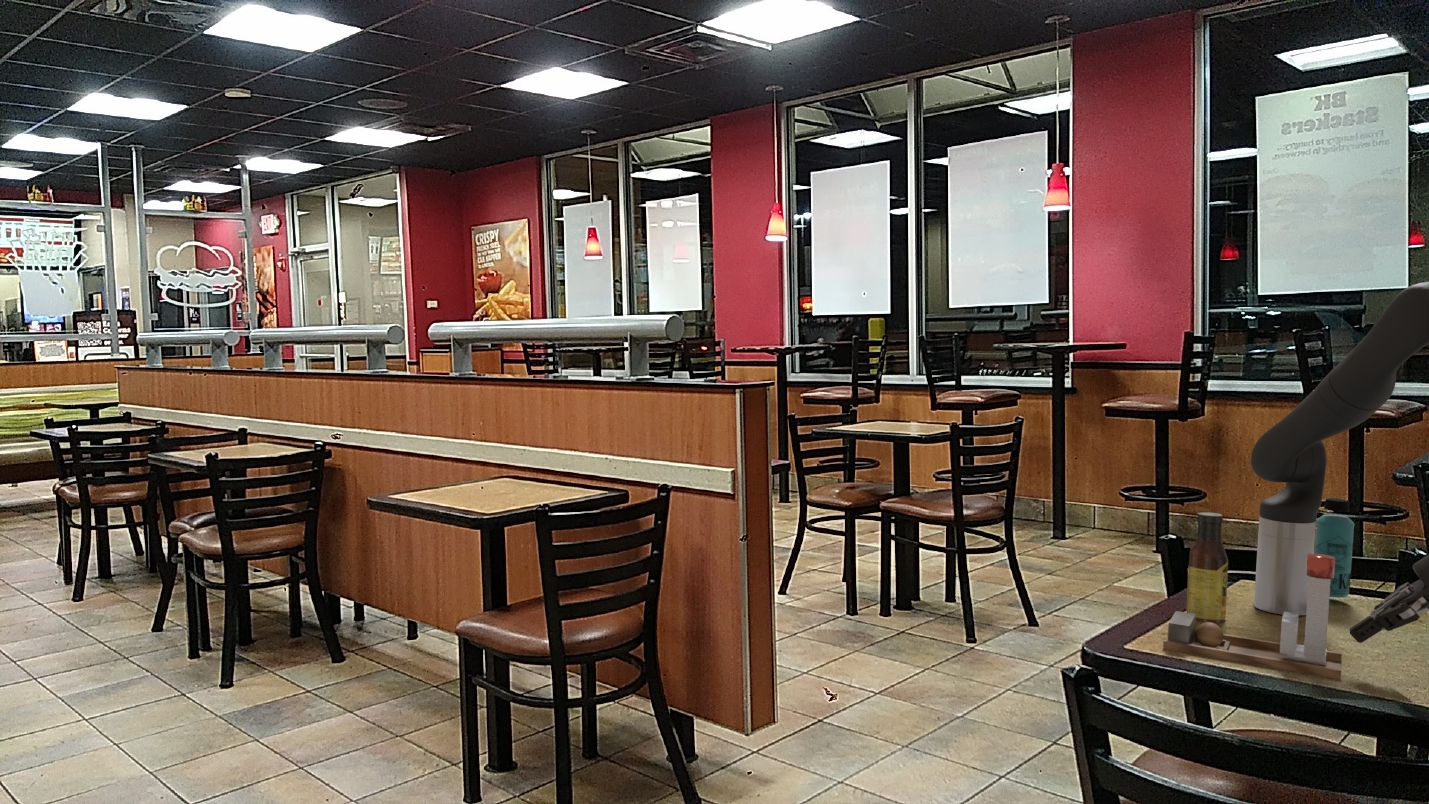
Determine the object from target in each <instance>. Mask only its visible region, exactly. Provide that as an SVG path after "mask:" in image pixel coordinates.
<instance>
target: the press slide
mask: <svg viewBox="0 0 1429 804" xmlns="http://www.w3.org/2000/svg"><path fill="white" fill-rule="evenodd" d="M1334 568H1335V557H1333V556H1329V555H1324V554H1308V555H1307V567H1306V575H1307V576H1309V581H1308V596H1307V611H1306V615H1305V626H1304V642H1303V643H1304V644H1298V630H1299V614H1297V613H1290V612H1284V613H1283V615H1282V619H1281V625H1280V626H1281V627H1280V641H1279V643H1280V653H1281V654H1287V661H1293V662H1299V663H1305V664H1311V665H1317V666H1323V667H1325V666H1326V652H1327V651H1328V650H1327V638H1328V624H1329V623H1328V622H1329V621H1328V620H1329V609H1330V608H1329V606H1330V597H1329V595H1330V581H1331V579H1333V578H1334Z"/></svg>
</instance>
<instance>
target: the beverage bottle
mask: <svg viewBox="0 0 1429 804" xmlns="http://www.w3.org/2000/svg"><path fill="white" fill-rule="evenodd" d="M1323 509H1325V510H1326V511H1327V510H1328V511H1331V512H1332V511H1333V512H1341V513H1342V512H1350V501H1349V500H1348V499H1345V498H1338V497H1328V498H1327V497H1326V498H1325V500H1324V505H1323ZM1354 527H1355V522H1354V521H1353V520H1352V519H1351V518H1350V517H1348V516H1344V515H1339V514H1322V515H1321V516H1320V517H1318V518H1317V519H1316V534H1315V551H1314V554H1324V555H1329V556H1333V557H1335V568H1334V578H1333V579H1331V581H1330V595H1329V598H1347V597H1348V596H1349V594H1350V592H1351V591H1350V589H1351V574H1352V573H1353V572H1351V571H1352V569H1353V568H1352V562H1353V545H1354V543H1353V542H1354V532H1355V531H1354V529H1355V528H1354Z"/></svg>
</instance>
